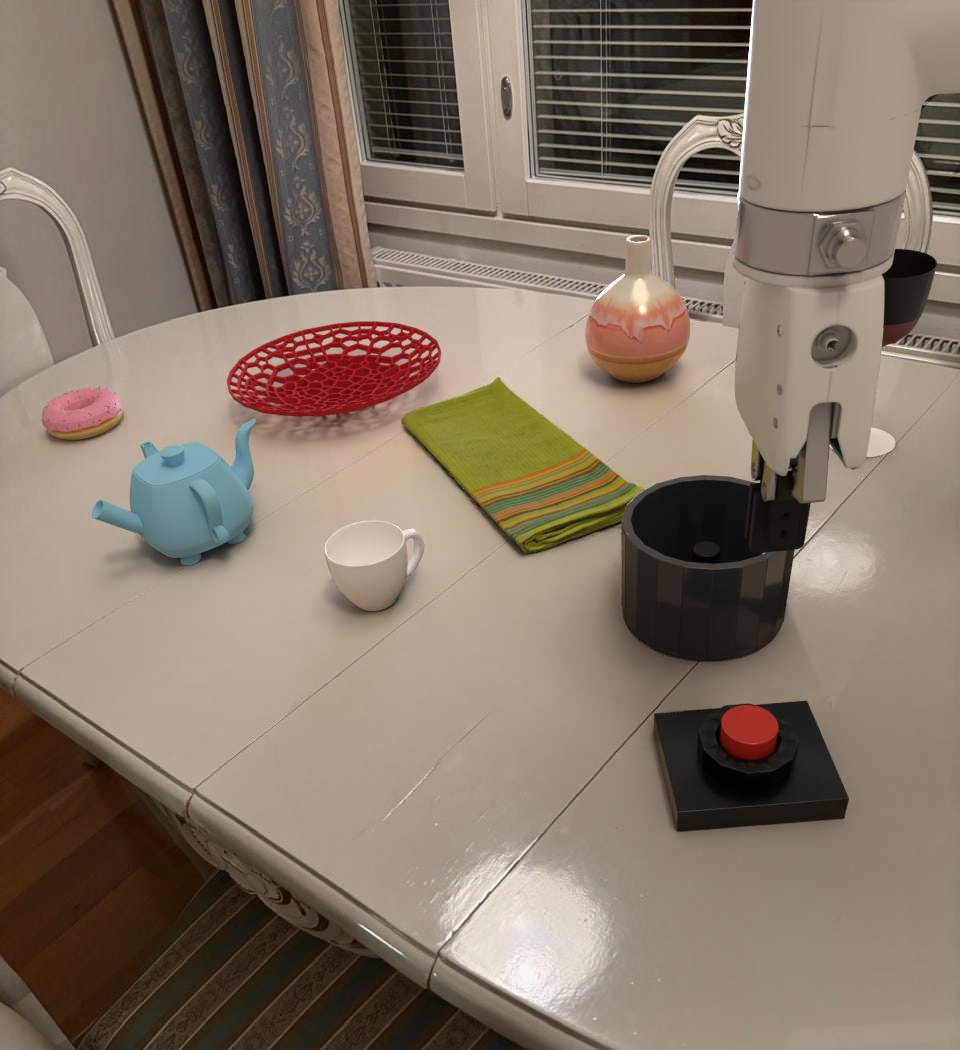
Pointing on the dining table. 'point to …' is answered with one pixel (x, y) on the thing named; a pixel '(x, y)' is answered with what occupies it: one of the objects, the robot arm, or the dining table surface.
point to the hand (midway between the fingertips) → (773, 543)
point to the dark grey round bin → (699, 572)
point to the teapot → (187, 498)
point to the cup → (372, 562)
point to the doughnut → (82, 413)
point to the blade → (706, 553)
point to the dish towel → (521, 467)
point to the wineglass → (902, 313)
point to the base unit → (747, 771)
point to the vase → (637, 321)
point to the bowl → (334, 371)
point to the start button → (748, 732)
